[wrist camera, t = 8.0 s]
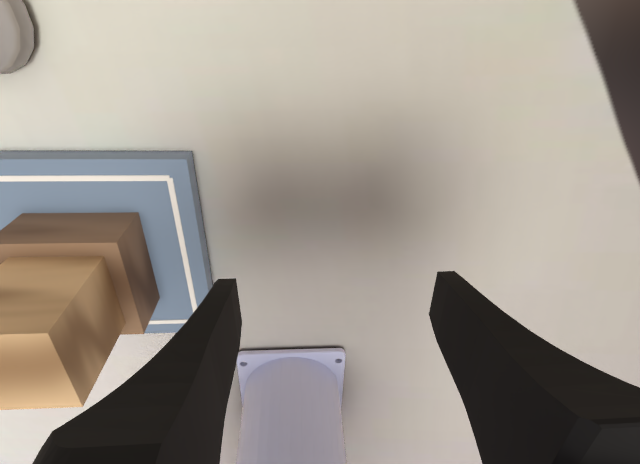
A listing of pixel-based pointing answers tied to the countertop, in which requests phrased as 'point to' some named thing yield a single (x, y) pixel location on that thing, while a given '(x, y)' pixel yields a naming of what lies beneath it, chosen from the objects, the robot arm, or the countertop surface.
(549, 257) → the countertop surface
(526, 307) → the countertop surface
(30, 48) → the rook chess piece
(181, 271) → the board
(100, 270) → the oak block
